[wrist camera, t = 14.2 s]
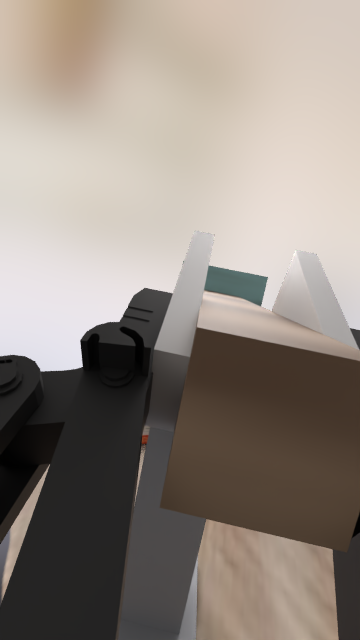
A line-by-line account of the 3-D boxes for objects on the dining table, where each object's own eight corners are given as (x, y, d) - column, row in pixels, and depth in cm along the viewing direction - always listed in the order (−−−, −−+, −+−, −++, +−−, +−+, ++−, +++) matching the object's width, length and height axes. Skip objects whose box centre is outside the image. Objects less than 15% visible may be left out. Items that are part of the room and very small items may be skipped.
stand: (191, 695, 32) (258, 430, 27) (81, 665, 32) (129, 401, 28) (195, 557, 47) (238, 375, 43) (121, 538, 48) (156, 357, 44)
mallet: (478, 584, 5) (606, 256, 4) (40, 479, 5) (86, 161, 4) (245, 327, 30) (257, 277, 30) (177, 313, 31) (186, 264, 30)
